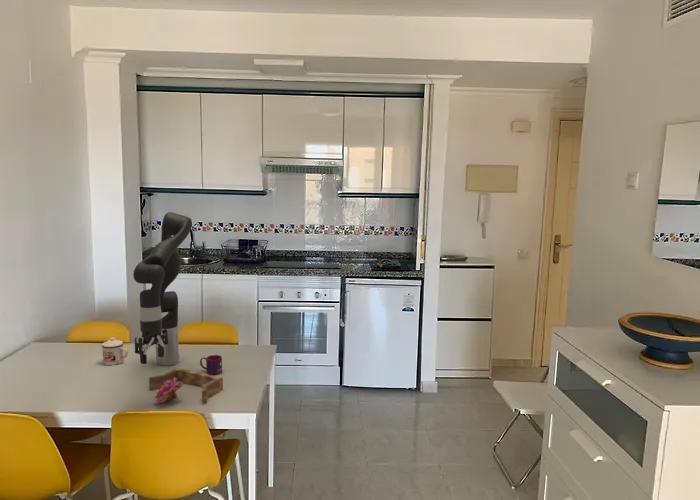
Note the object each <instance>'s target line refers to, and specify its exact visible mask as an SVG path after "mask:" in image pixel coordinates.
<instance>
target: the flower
mask: <svg viewBox="0 0 700 500" xmlns="http://www.w3.org/2000/svg"><path fill="white" fill-rule="evenodd" d="M183 384H184V383H183V382H181V381H179V382H176V378H174V380H167V382H165V383H164V385H163V386H162V387H161V388H160V389H158V390H159V391H157V392H156V394H155V395H154V398H155V399H156V400H155V403H156V404H158V405H159V404H162V403H165V402H166V401H170V400H171V399H177V400H179V397H178V395H177V393H176V392H177V391H178V390H180V389H181V388H182V386H183Z"/></svg>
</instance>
